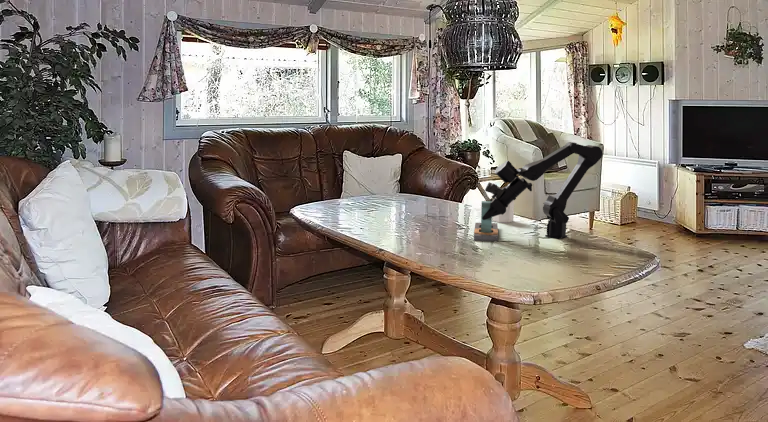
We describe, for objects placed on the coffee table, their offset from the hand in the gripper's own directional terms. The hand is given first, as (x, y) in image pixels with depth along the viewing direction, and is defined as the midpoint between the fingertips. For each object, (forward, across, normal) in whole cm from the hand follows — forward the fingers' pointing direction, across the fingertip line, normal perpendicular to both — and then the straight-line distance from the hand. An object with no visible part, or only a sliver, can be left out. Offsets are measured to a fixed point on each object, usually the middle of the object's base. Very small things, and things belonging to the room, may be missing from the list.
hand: (482, 218), depth 250 cm
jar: (0, -35, +11) cm, 36 cm away
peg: (+4, 0, +6) cm, 7 cm away
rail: (+4, -5, +6) cm, 9 cm away
